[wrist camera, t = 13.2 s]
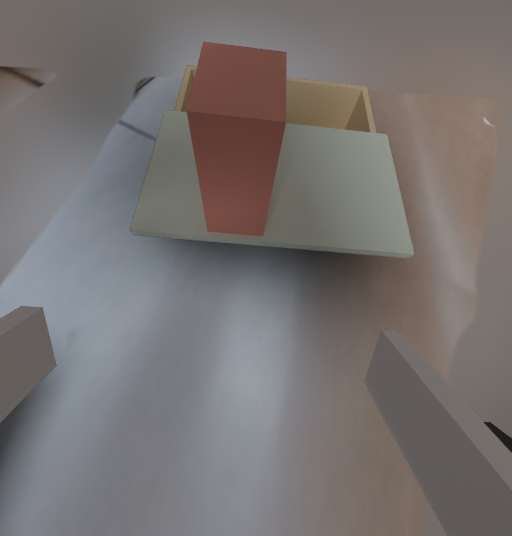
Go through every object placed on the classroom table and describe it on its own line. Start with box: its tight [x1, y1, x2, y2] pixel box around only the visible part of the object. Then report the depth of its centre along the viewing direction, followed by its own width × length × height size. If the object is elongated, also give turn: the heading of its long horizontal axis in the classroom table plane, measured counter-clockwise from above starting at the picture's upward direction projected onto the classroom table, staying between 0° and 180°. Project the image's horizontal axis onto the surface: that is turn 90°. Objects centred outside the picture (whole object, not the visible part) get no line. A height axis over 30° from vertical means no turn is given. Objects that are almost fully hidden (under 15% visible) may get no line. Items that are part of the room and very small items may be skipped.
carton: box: [174, 65, 376, 133], centre depth 28 cm, size 20×12×6 cm, turn 87°
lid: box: [130, 42, 414, 258], centre depth 17 cm, size 21×13×10 cm, turn 87°
